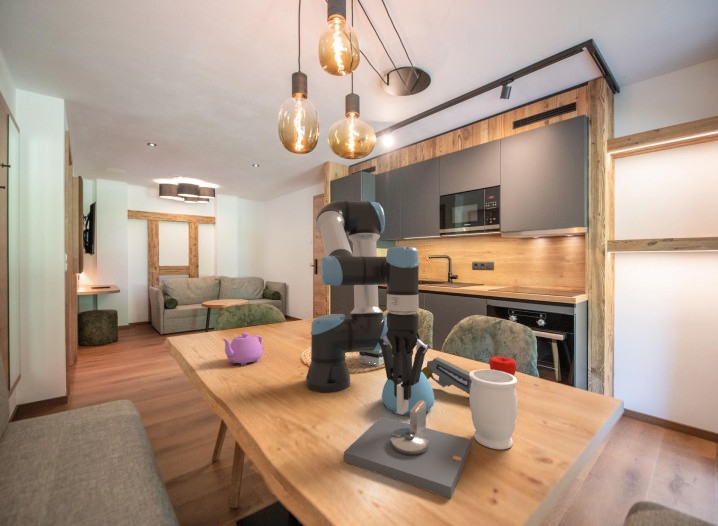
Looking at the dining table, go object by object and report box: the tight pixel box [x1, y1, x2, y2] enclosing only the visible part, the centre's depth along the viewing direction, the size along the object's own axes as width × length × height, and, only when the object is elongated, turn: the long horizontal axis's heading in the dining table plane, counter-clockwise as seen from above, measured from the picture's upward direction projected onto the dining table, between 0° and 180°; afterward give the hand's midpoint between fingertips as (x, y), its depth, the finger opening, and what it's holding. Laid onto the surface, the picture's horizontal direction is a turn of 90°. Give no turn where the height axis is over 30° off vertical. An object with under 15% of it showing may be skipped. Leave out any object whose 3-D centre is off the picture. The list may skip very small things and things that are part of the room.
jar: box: [468, 368, 519, 451], centre depth 76 cm, size 11×10×15 cm
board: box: [343, 416, 471, 499], centre depth 70 cm, size 22×18×2 cm
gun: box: [421, 357, 472, 395], centre depth 104 cm, size 3×25×15 cm, turn 47°
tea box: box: [358, 344, 392, 367], centre depth 139 cm, size 15×10×15 cm, turn 147°
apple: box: [489, 356, 517, 376], centre depth 115 cm, size 9×9×8 cm
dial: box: [391, 400, 428, 455], centre depth 72 cm, size 13×8×6 cm, turn 151°
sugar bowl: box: [381, 365, 435, 417], centre depth 95 cm, size 15×15×12 cm
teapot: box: [222, 332, 264, 367], centre depth 136 cm, size 20×14×12 cm
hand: (402, 411), depth 77 cm, fingers closed
